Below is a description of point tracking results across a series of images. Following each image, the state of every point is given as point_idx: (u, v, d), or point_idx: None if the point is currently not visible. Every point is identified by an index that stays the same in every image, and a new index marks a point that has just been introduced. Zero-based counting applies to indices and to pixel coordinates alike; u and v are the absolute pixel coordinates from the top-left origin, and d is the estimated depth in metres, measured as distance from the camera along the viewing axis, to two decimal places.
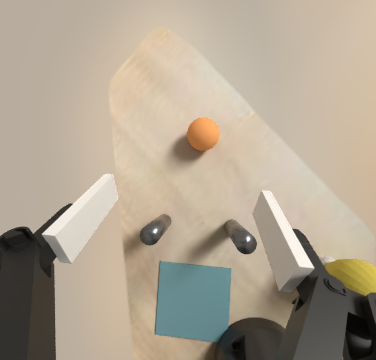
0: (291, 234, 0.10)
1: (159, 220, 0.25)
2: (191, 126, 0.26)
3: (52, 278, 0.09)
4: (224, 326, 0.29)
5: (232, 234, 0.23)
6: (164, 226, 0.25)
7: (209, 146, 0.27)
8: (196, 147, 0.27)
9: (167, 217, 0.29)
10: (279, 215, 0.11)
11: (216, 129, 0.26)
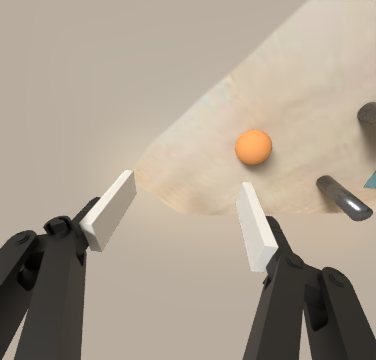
0: (263, 219, 0.11)
1: (336, 196, 0.26)
2: (247, 162, 0.26)
3: (84, 267, 0.10)
4: None
5: None
6: (346, 193, 0.26)
7: (271, 143, 0.24)
8: None
9: (324, 181, 0.29)
10: (255, 203, 0.12)
11: (257, 137, 0.23)
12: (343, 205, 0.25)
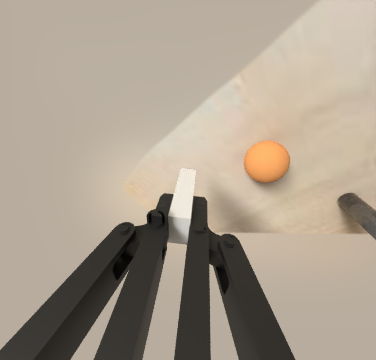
0: (189, 198, 0.12)
1: (366, 221, 0.22)
2: (259, 180, 0.21)
3: (163, 261, 0.10)
4: None
5: None
6: None
7: (289, 158, 0.20)
8: None
9: (349, 200, 0.25)
10: (189, 186, 0.13)
11: (272, 151, 0.19)
12: None
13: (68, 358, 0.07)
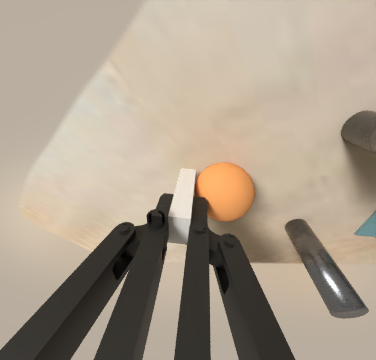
0: (189, 198, 0.12)
1: (310, 264, 0.16)
2: None
3: (163, 261, 0.10)
4: None
5: None
6: (324, 262, 0.15)
7: None
8: None
9: (295, 229, 0.19)
10: (189, 186, 0.13)
11: (248, 177, 0.14)
12: (319, 285, 0.15)
13: (68, 358, 0.07)
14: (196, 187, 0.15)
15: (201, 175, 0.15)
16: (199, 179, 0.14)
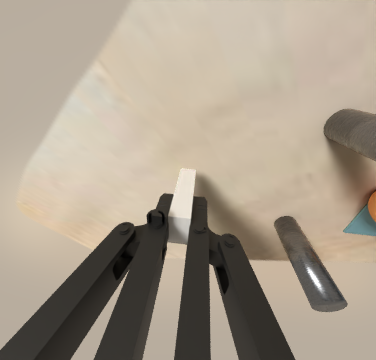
0: (189, 198, 0.12)
1: (294, 259, 0.16)
2: None
3: (163, 261, 0.10)
4: None
5: None
6: (308, 257, 0.16)
7: None
8: None
9: (283, 226, 0.19)
10: (189, 186, 0.13)
11: None
12: (301, 280, 0.15)
13: (68, 358, 0.07)
14: None
15: None
16: None
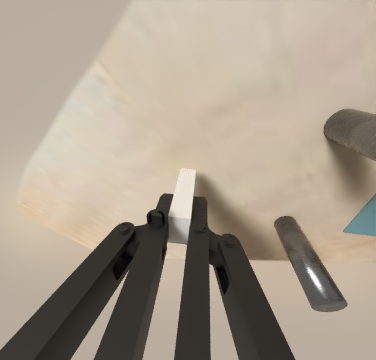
0: (189, 198, 0.12)
1: (294, 259, 0.16)
2: None
3: (163, 261, 0.10)
4: None
5: None
6: (308, 257, 0.16)
7: None
8: None
9: (283, 226, 0.19)
10: (189, 186, 0.13)
11: None
12: (301, 280, 0.15)
13: (68, 358, 0.07)
14: None
15: None
16: None
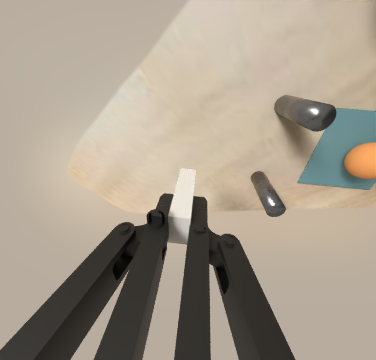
0: (189, 198, 0.12)
1: (260, 192, 0.26)
2: None
3: (163, 261, 0.10)
4: None
5: (299, 124, 0.19)
6: (267, 189, 0.25)
7: (370, 156, 0.22)
8: (363, 171, 0.23)
9: (255, 176, 0.29)
10: (189, 186, 0.13)
11: (363, 144, 0.24)
12: (262, 201, 0.25)
13: (68, 358, 0.07)
14: None
15: None
16: None
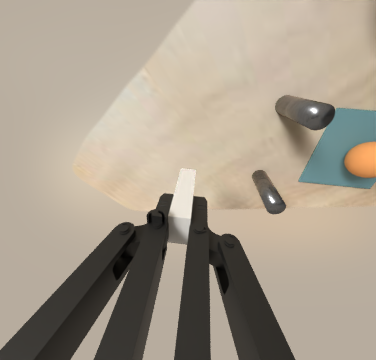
0: (189, 198, 0.12)
1: (260, 190, 0.26)
2: None
3: (163, 261, 0.10)
4: None
5: (299, 123, 0.19)
6: (268, 187, 0.26)
7: (370, 155, 0.23)
8: (363, 170, 0.24)
9: (256, 175, 0.30)
10: (189, 186, 0.13)
11: (363, 143, 0.25)
12: (263, 198, 0.25)
13: (68, 358, 0.07)
14: None
15: None
16: None
